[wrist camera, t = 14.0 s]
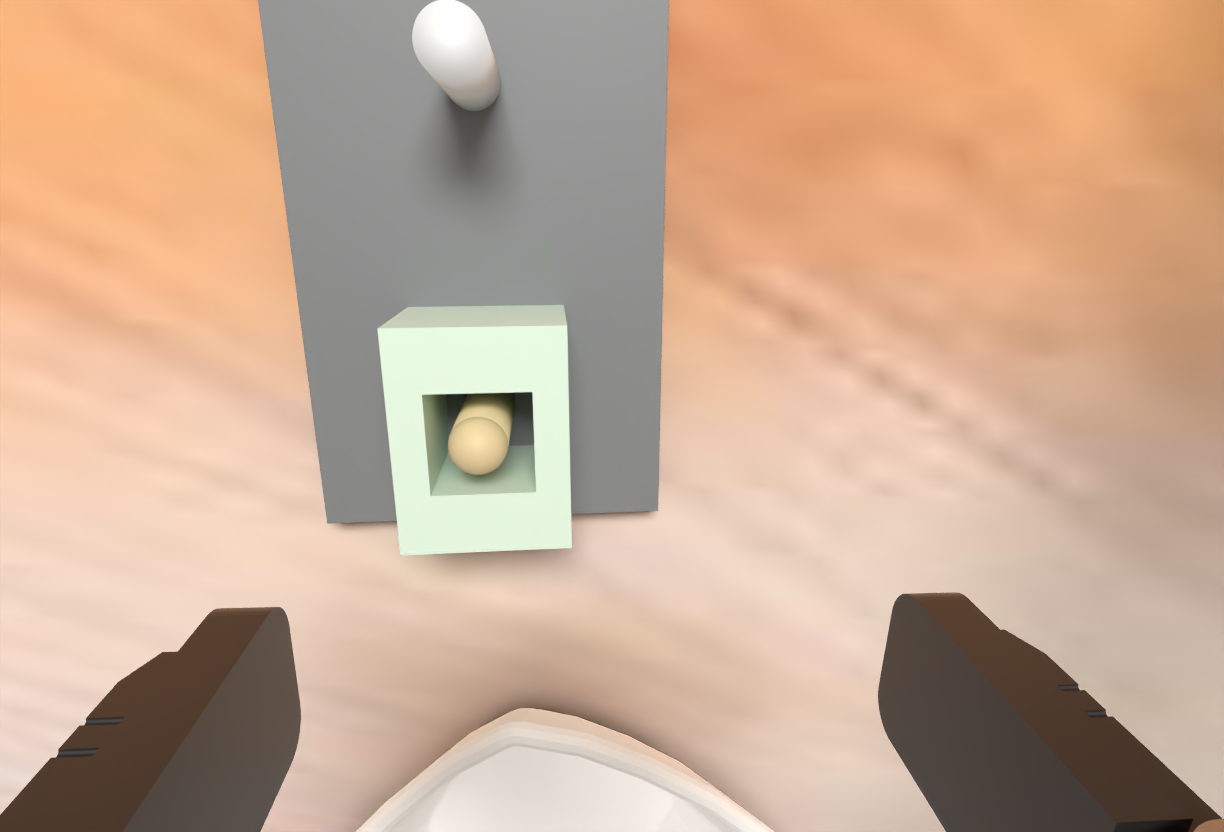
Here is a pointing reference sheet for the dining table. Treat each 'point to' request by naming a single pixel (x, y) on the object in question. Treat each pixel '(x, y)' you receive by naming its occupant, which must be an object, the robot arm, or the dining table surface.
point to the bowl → (557, 785)
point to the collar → (418, 427)
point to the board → (476, 217)
